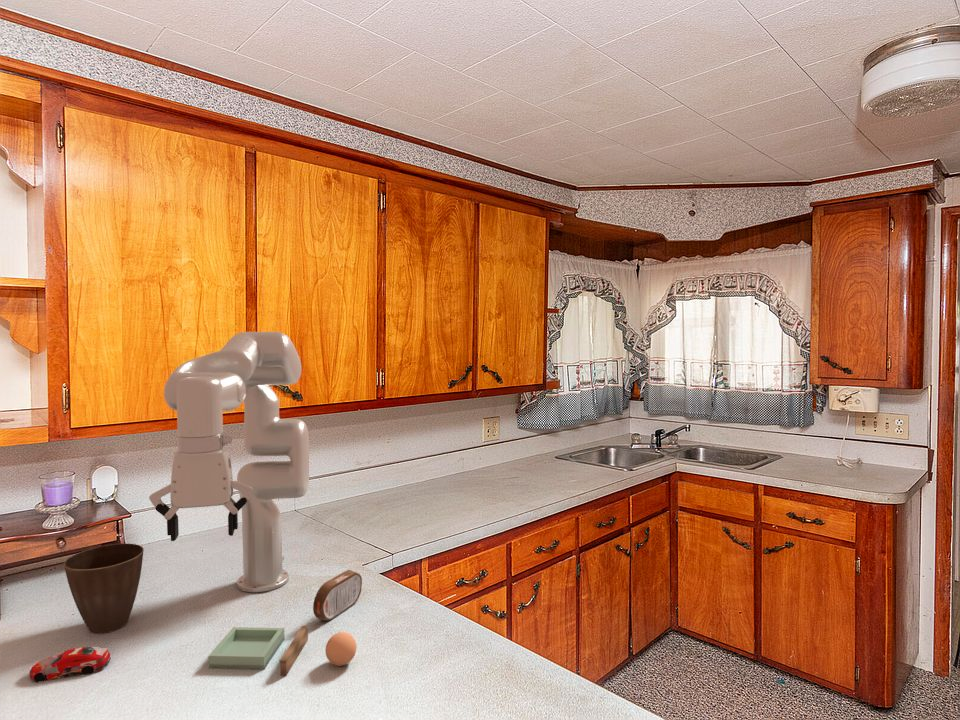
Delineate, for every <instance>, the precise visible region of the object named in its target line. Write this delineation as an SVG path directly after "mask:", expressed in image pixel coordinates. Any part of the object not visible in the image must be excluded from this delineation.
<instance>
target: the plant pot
mask: <svg viewBox="0 0 960 720" xmlns="http://www.w3.org/2000/svg"><path fill="white" fill-rule="evenodd" d="M144 549H145V548H144V547H143V546H142V545H139V544H136V543H114V544H113V543H112V544H106V545H100V546H96V547H92V548H89V549H85V550H83V551H80V552H78V553H75V554H72V555H70V557H68V558H67V559H66V560H65V561H64V563H63V566H64V571H65V575H66V579H67V583H68V586H69V589H70V592H71V595H72V599H73V601H74V604H75V606H76V608H77V610H78V612H79V614H80V617H81V619H82V621H83V622H84V625H85V626H86V628H87V629H88V631H89V632H90V633H92V634H96V635H97V634H99V635H100V634H106V633H107V634H108V633H111V632H114V631H117V630H119V629H121V628H123V627H125V626H126V625H127V623H128V622H129V619H130V616H131V614H132V610H133V608H134V605H135V600H136V598H137V593H138V589H139V585H140V579H141V573H142V566H143V559H144Z"/></svg>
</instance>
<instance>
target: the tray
mask: <svg viewBox="0 0 960 720" xmlns="http://www.w3.org/2000/svg"><path fill="white" fill-rule="evenodd" d="M284 641H285V627H256V626H255V627H252V626H251V627H250V626H248V627H247V626H246V627H244V626H243V627H241V626H237V627H236V626H233V627H232V628H231V629H230V630H229V632H228V633H227V634H226V635H225V636H224V637H223V639H221V641H220V642H219V643H218V644H217V645H216V646H215V648H214V649H213V650H212V651H211V652H210V654H209V655H208V660H207V661H208V669H227V670H229V669H231V670H234V669H235V670H238V669H239V670H240V669H241V670H265V669H266V667H267V666H268V664H269V663H270V661H271V660H272V659H273V657H274V655H275V654H276V652H278V650H279V648H280V647H281V645H282V644H283V642H284Z"/></svg>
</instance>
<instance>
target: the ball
mask: <svg viewBox="0 0 960 720" xmlns="http://www.w3.org/2000/svg"><path fill="white" fill-rule="evenodd" d="M356 653H357V641H356V639H355V638H354V636H353V635H351V634H350V633H348V632H345V631H342V632H341V631H340V632H337V633H336V632H335V634H333V635H332V636H331V637H330V638H329V639H328V640H327V642H326V645H325V656H326V658H327V660H328V661H329V663H331V664H332V665H334V666H337V667H341V666H345V665H348V663H349V664H350V662H351V661H352V660H353V659H354V658H355V655H356Z"/></svg>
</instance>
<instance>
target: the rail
mask: <svg viewBox="0 0 960 720" xmlns="http://www.w3.org/2000/svg"><path fill="white" fill-rule="evenodd" d="M308 641H309V627H308V625H302V626H301V627H300V629H299V630H298V631H297V634H296V635H295V637H294V638H293V639H292V641H291V643H290V644H289V646H288V647H287V649H286V651H285V652H284V654H283V655H282V657H281V658H280V660H279V676H280V677H281V676H283V677H285V676H286V677H287V676H288V674H289V672H290V670H291V669H292V668H293V665H295V662H296V661H297V659H298V657H299V656H300V654H301V652H302V650H303V649H304V648H305V645H306V644H307V643H308Z"/></svg>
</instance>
